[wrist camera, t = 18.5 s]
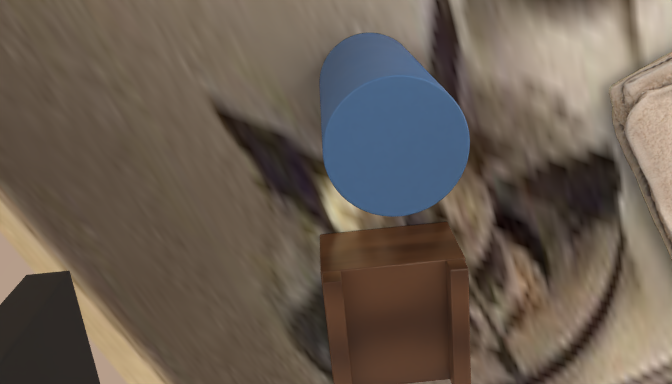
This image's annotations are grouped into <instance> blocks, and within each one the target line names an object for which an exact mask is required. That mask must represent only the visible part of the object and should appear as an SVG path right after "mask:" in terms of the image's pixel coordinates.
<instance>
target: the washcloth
mask: <svg viewBox="0 0 672 384" xmlns="http://www.w3.org/2000/svg"><path fill="white" fill-rule="evenodd" d="M609 95H610V97H611V103H612V105H613V110H612V120H613V126H614V128H615V133H616V135H617V138H618V141H619V143H620V145H621V148H622V150H623V153H624V155H625V158H626V159H627V161H628V163H629V165H630V167H631V169H632V170H633V172H634V174H635V177H636V180H637V182H638V184H639V187H640V190H641V192H642V195H643V198H644V200H645V202H646V204H647V206H648V209H649V211H650V213H651V215H652V218H653V220H654V223H655V225H656V226H657V228H658V230H659V232H660V234H661V236H662V239H663V241H664V243H665V246H666V248H667V250H668V252H669V255H670V257H671V259H672V52H671V53H669V54H667V55H665V56H663V57H661V58H659V59H657V60H655V61H654V62H652V63H651V64H649V65H647V66H645V67H644V68H641V69H639V70H638V71H636V72H634V73H633V74H631V75H629V76H627V77H625V78H624V79H622V80H620V81H619V82H617V83H615V84H614V85H612V86H611V87H610V88H609Z"/></svg>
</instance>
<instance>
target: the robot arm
mask: <svg viewBox="0 0 672 384" xmlns="http://www.w3.org/2000/svg"><path fill="white" fill-rule="evenodd" d="M0 384H100V382H99V378H98V374H97V370H96V367H95V363H94V359H93V356H92V352H91V348H90V345H89V341H88V337H87V334H86V330H85V326H84V323H83V319H82V315H81V312H80V308H79V304H78V301H77V297H76V293H75V290H74V286H73V282H72V279H71V275H70V271H62V272H52V273H42V274H32V275H26V276H25V277H24V278H23V280H22V281H21V282H20V283H19V284H18V285H17V286H16V288H15V289H14V290H13V291H12V292H11V293H10V294H9V295H8V297H7V298H6V299H5V300H4V301H3V302H2V303H1V305H0Z"/></svg>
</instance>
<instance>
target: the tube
mask: <svg viewBox="0 0 672 384" xmlns="http://www.w3.org/2000/svg"><path fill="white" fill-rule="evenodd" d="M320 104H321V126H322V148H323V159H324V165H325V168H326V171H327V174H328V176H329V178H330V180H331V182H332V184H333V185H334V187H335V188H336V190H337V191H338V192H339V193H340V194H341V195H342V196H343V197H344V198H345V199H346V200H347V201H348V202H350V203H351V204H353V205H354V206H356V207H358V208H360V209H362V210H364V211H366V212H369V213H372V214H376V215H381V216H391V217H392V216H405V215H411V214H414V213H418V212H420V211H423V210H425V209H427V208H429V207H431V206H433V205H434V204H436V203H437V202H439V201H440V200H441V199H443V198H444V197H445V196H446V195H447V194H448V193H449V192H450V191H451V190H452V189H453V187H454V186H455V185H456V184H457V182H458V180H459V179H460V177H461V175H462V173H463V171H464V169H465V166H466V163H467V160H468V155H469V148H470V137H469V130H468V125H467V122H466V119H465V117H464V114H463V112H462V110H461V109H460V107H459V105H458V104H457V103H456V101H455V100H454V99H453V98H452V97H451V96H450V94H449V93H448V92H447V91H446V90H445V89H444V88H443V87H442V86H441V85H440V84H439V83H438V82H437V81H436V80H435V79H434V78H433V77H432V76H431V75H430V74H429V73H428V72H427V71H426V70H425V68H424V67H423V66H422V65H421V64H420V63H419V62H418V61H417V60H416V59H415V58H414V57H413V56H412V55H411V54H410V53H409V52H408V51H407V50H406V49H405V48H404V47H403V46H402V45H401V44H400V43H399V42H397V41H396V40H394V39H392V38H391V37H388V36H386V35H382V34H378V33H362V34H357V35H354V36H351V37H349V38H347V39H345V40H343V41H342V42H340V43H339V44H338V45H337V46H335V47H334V48H333V50H332V51H331V52H330V53H329V55H328V56H327V58H326V60H325V61H324V64H323V66H322V69H321V73H320Z"/></svg>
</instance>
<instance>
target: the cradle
mask: <svg viewBox="0 0 672 384" xmlns="http://www.w3.org/2000/svg"><path fill="white" fill-rule="evenodd" d="M320 264H321V280H322V288H323V297H324V305H325V314H326V322H327V331H328V339H329V348H330V356H331V365H332V373H333V382H334V384H405V383H415V382H425V381H435V380H445V379H450V380H451V383H452V384H471V366H470V321H469V276H468V267H467V265H466V263H465V257H464V255H463V253H462V251H461V249H460V247H459V245H458V243H457V241H456V239H455V237H454V235H453V233H452V231H451V229H450V227H449V225H448V223H447V222H441V223H431V224H421V225H411V226H401V227H391V228H381V229H372V230H362V231H352V232H342V233H332V234H322V235H320Z"/></svg>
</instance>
